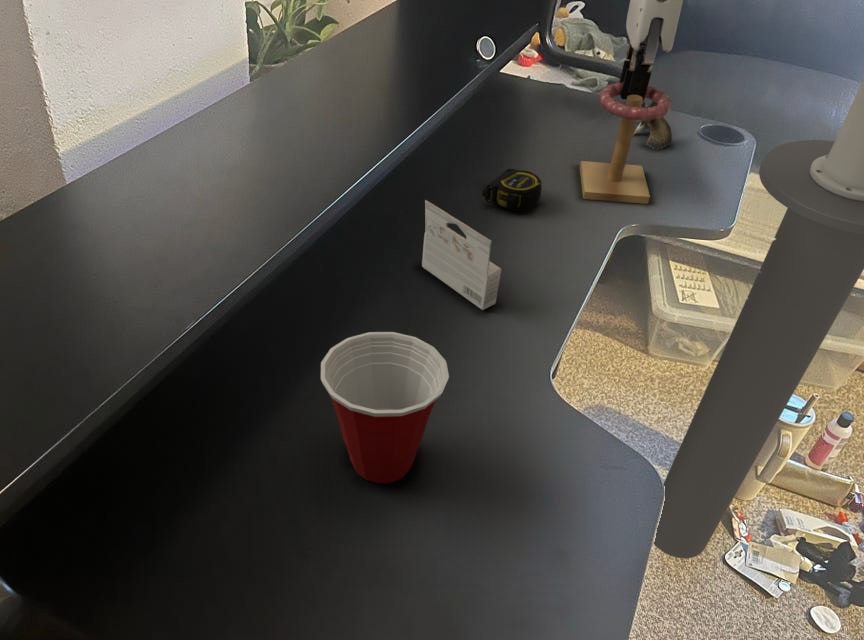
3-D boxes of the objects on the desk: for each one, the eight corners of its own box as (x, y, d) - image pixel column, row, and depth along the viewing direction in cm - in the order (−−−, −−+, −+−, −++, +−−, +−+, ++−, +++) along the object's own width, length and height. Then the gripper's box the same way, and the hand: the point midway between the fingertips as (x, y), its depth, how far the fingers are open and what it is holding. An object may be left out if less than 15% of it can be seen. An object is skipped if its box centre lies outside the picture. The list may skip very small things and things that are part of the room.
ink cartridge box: (434, 260, 93) (440, 192, 86) (497, 304, 87) (508, 234, 80) (419, 267, 92) (424, 198, 85) (482, 312, 86) (491, 242, 79)
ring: (663, 93, 102) (666, 82, 101) (673, 125, 96) (677, 113, 95) (595, 89, 103) (598, 78, 102) (602, 120, 96) (604, 108, 95)
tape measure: (505, 185, 107) (509, 161, 104) (547, 201, 104) (552, 177, 101) (480, 204, 103) (483, 180, 100) (522, 221, 100) (527, 197, 97)
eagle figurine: (611, 116, 121) (628, 132, 114) (642, 79, 118) (661, 91, 111) (645, 142, 124) (663, 158, 116) (676, 105, 121) (697, 120, 113)
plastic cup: (444, 422, 73) (454, 330, 65) (434, 512, 65) (444, 421, 57) (336, 409, 74) (333, 318, 66) (314, 497, 66) (306, 405, 58)
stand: (640, 172, 110) (664, 86, 101) (647, 204, 104) (674, 114, 95) (579, 168, 111) (598, 81, 102) (583, 199, 104) (603, 109, 95)
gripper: (711, -33, 83) (667, 122, 96) (687, -69, 95) (650, 73, 107) (643, -36, 84) (608, 118, 96) (628, -72, 95) (598, 70, 108)
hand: (631, 93), depth 102 cm, fingers closed on ring, 2 cm apart
